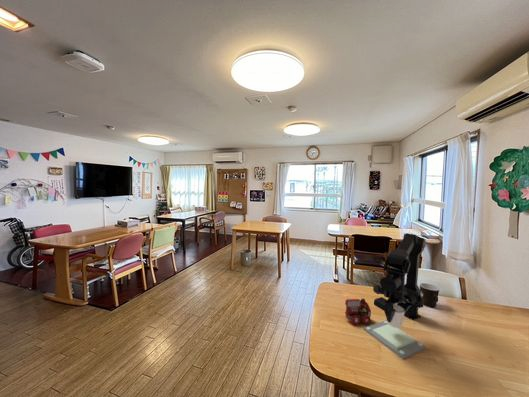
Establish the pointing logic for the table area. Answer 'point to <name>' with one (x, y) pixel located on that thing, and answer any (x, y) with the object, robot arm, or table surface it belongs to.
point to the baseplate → (395, 339)
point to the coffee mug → (429, 294)
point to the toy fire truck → (358, 311)
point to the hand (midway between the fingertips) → (394, 320)
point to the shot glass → (397, 317)
